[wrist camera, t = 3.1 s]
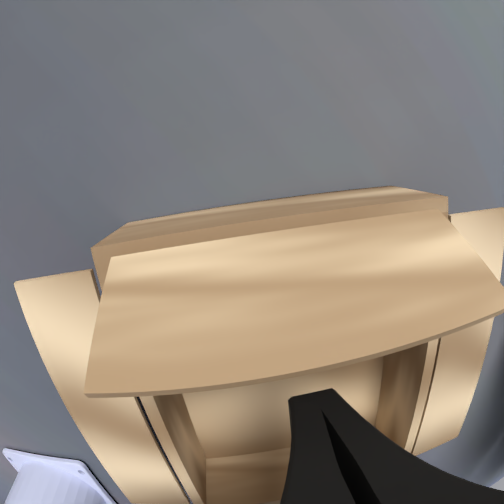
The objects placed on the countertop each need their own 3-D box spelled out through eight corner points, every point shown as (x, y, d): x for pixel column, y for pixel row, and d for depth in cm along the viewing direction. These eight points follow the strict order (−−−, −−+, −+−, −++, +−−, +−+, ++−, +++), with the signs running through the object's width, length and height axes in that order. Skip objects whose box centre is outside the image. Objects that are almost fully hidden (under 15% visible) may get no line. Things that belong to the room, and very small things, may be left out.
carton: (426, 406, 17) (456, 445, 13) (144, 461, 16) (136, 511, 12) (450, 180, 13) (509, 191, 9) (55, 237, 12) (4, 265, 8)
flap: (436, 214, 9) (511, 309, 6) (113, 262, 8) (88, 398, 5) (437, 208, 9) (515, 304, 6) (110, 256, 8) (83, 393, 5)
